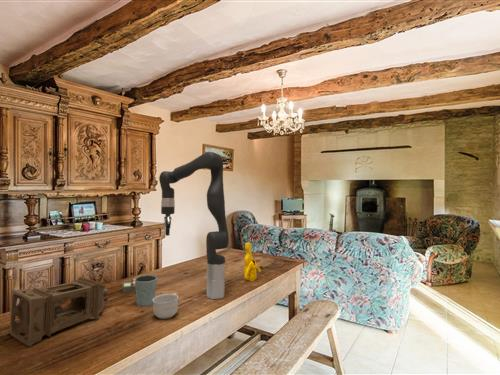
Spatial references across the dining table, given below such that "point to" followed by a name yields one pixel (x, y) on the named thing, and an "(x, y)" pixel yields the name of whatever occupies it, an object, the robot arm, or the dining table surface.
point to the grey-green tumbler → (145, 289)
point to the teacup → (165, 305)
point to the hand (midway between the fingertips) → (167, 235)
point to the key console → (128, 289)
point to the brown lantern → (54, 308)
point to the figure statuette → (250, 264)
